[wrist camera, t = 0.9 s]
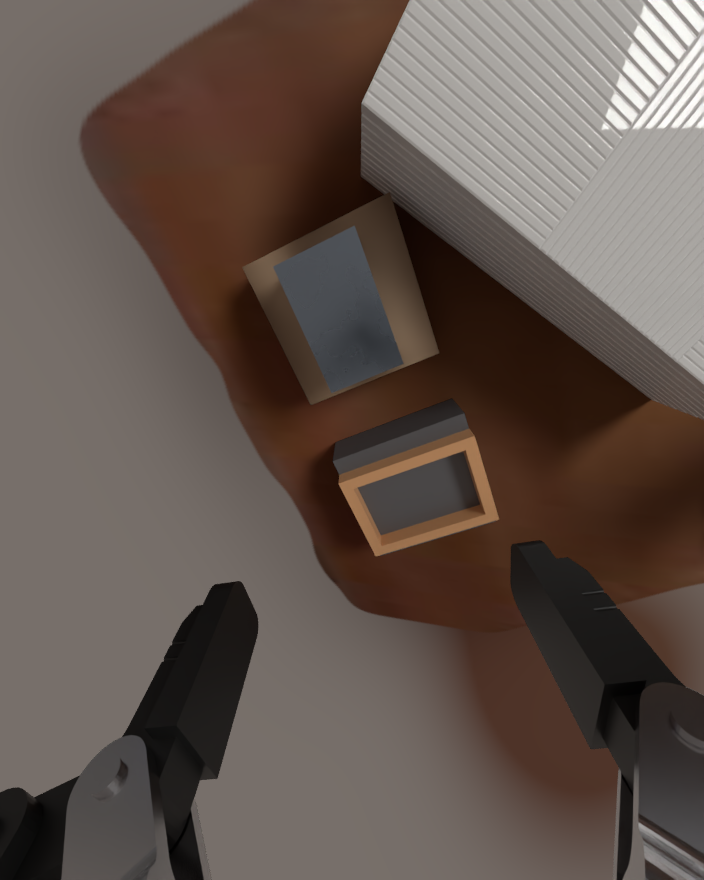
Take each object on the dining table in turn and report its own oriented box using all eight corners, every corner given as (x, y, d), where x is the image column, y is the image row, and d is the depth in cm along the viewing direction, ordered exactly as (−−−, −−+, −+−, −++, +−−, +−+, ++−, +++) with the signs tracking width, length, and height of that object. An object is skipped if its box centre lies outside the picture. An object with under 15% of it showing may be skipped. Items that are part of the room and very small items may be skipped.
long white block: (360, 177, 24) (361, 102, 14) (453, -6, 20) (539, -279, 11) (649, 399, 31) (784, 450, 21) (761, 293, 27) (991, 295, 17)
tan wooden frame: (452, 398, 31) (469, 419, 26) (482, 497, 35) (502, 531, 30) (335, 442, 33) (331, 469, 28) (378, 530, 38) (381, 567, 33)
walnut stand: (385, 205, 25) (389, 191, 21) (429, 344, 29) (439, 353, 25) (258, 270, 27) (242, 267, 23) (316, 391, 31) (310, 405, 27)
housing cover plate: (355, 231, 19) (354, 225, 18) (400, 357, 22) (403, 363, 21) (280, 268, 20) (272, 266, 19) (333, 385, 23) (331, 393, 22)
